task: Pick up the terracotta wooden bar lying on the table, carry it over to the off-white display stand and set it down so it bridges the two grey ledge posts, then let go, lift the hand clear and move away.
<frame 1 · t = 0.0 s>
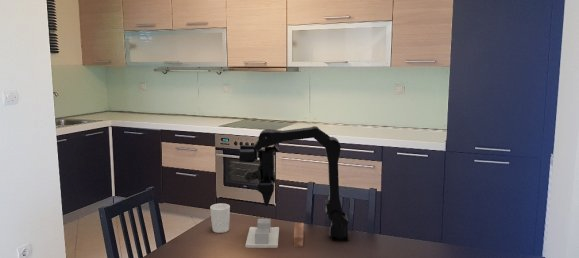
hand: (267, 201, 181), 15 cm above the table, tool pointing down, fingers open, 9 cm apart
terracotta bar: (298, 239, 183), on the table
white cup: (220, 230, 192), on the table
display stand: (263, 238, 183), on the table
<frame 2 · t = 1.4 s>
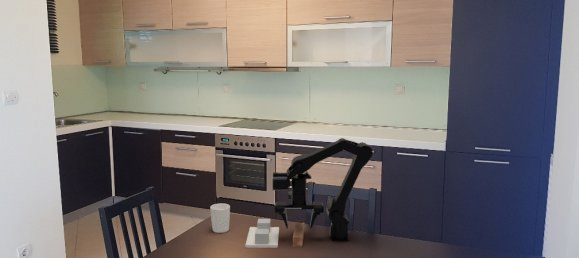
hand: (299, 228, 182), 4 cm above the table, tool pointing down, fingers open, 9 cm apart
nothing on the table moved.
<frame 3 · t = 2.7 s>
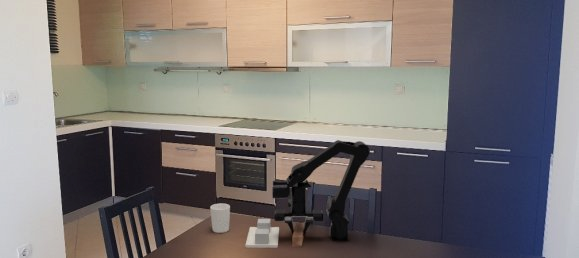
hand: (298, 236, 182), 1 cm above the table, tool pointing down, fingers closed on terracotta bar, 4 cm apart
terracotta bar: (298, 239, 183), on the table, touching gripper
everything else where it was.
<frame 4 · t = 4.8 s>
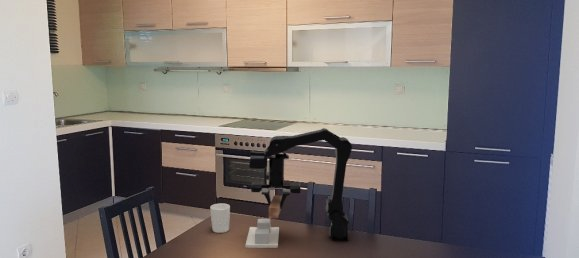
hand: (275, 208, 181), 12 cm above the table, tool pointing down, fingers closed on terracotta bar, 4 cm apart
terracotta bar: (275, 211, 181), point 11 cm above the table, touching gripper
everything else where it was.
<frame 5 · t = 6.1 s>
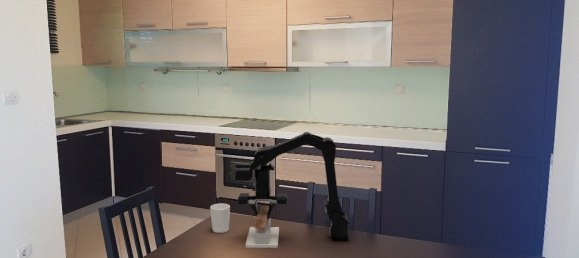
hand: (263, 219, 182), 8 cm above the table, tool pointing down, fingers closed on terracotta bar, 4 cm apart
terracotta bar: (263, 222, 182), point 7 cm above the table, touching gripper
everything else where it was.
when the fingers open (7 cm above the table, at t = 6.7 s): terracotta bar drops 1 cm, resting on display stand.
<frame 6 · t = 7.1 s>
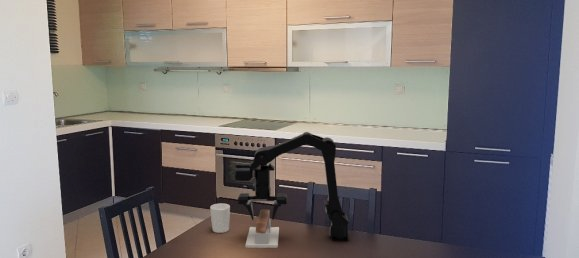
hand: (263, 219, 182), 7 cm above the table, tool pointing down, fingers open, 7 cm apart
terracotta bar: (263, 226, 182), point 5 cm above the table, touching display stand
everything else where it was.
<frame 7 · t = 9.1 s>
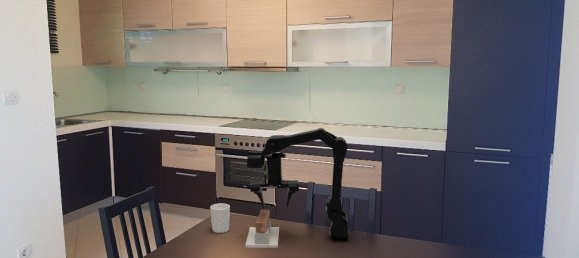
hand: (275, 207, 183), 12 cm above the table, tool pointing down, fingers open, 9 cm apart
nothing on the table moved.
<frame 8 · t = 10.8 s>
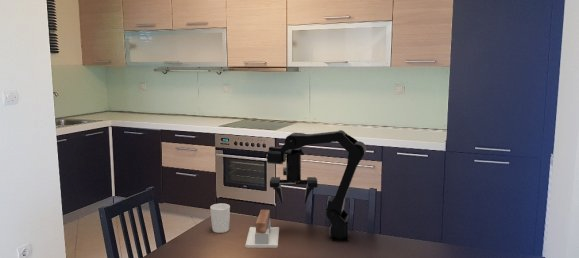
hand: (293, 203, 186), 13 cm above the table, tool pointing down, fingers open, 9 cm apart
nothing on the table moved.
at the end: terracotta bar 0.0 cm off-centre on the display stand, point 5.0 cm above the display stand's base; terracotta bar tilted 0°; the gripper is holding nothing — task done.
